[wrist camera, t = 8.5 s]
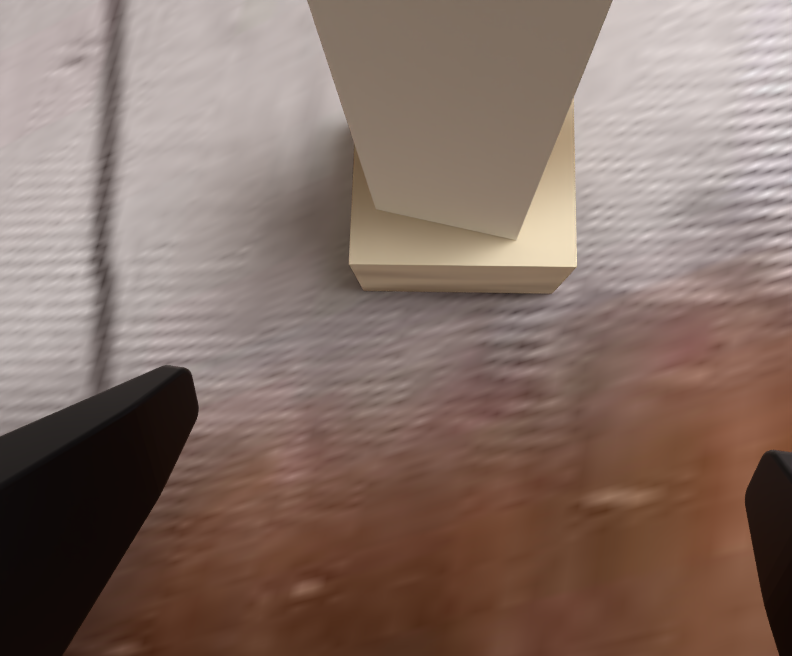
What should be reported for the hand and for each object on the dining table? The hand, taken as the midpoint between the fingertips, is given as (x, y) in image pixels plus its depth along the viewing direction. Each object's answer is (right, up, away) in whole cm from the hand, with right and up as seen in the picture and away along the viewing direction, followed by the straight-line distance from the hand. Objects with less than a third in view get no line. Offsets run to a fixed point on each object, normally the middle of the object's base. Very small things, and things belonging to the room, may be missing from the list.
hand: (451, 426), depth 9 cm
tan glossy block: (+1, +6, +13) cm, 15 cm away
